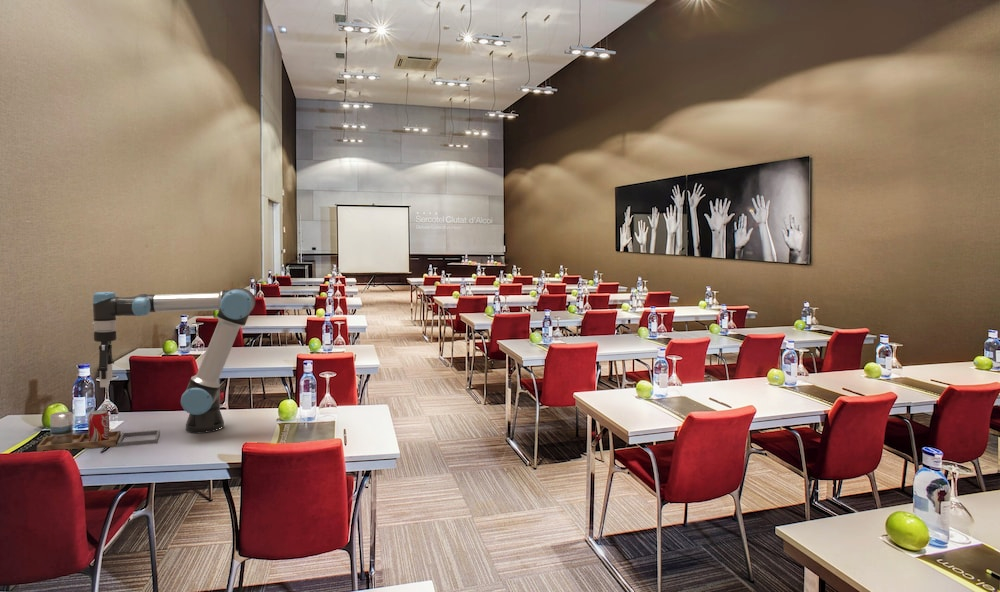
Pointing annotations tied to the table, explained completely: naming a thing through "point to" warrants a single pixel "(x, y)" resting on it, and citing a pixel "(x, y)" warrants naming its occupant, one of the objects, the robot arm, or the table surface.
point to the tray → (138, 440)
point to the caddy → (80, 442)
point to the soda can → (98, 425)
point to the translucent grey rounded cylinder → (61, 428)
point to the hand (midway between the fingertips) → (106, 383)
